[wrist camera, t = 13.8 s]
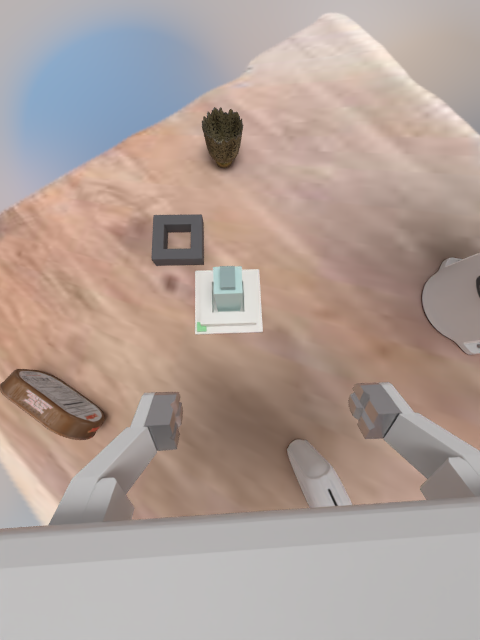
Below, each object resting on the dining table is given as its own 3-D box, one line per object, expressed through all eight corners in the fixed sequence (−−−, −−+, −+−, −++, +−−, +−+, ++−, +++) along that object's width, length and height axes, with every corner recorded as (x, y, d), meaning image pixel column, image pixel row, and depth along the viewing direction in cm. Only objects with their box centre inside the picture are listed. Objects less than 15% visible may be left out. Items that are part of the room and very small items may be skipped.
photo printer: (333, 498, 36) (385, 565, 24) (309, 511, 35) (349, 585, 23) (305, 434, 38) (340, 465, 26) (282, 445, 37) (306, 482, 25)
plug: (239, 290, 42) (241, 262, 31) (240, 310, 41) (243, 290, 30) (217, 290, 42) (212, 263, 31) (218, 311, 41) (212, 291, 30)
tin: (34, 381, 38) (-21, 385, 30) (47, 365, 39) (-3, 364, 30) (104, 432, 37) (68, 451, 29) (117, 415, 37) (84, 428, 29)
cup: (244, 152, 49) (247, 111, 41) (237, 180, 47) (238, 143, 40) (211, 145, 49) (207, 102, 41) (202, 172, 48) (197, 134, 40)
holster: (203, 222, 45) (201, 214, 43) (203, 264, 43) (202, 258, 41) (157, 223, 45) (153, 215, 42) (156, 265, 43) (151, 259, 40)
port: (258, 270, 43) (260, 263, 40) (262, 332, 41) (264, 329, 38) (195, 272, 43) (193, 265, 40) (195, 334, 40) (192, 332, 37)
